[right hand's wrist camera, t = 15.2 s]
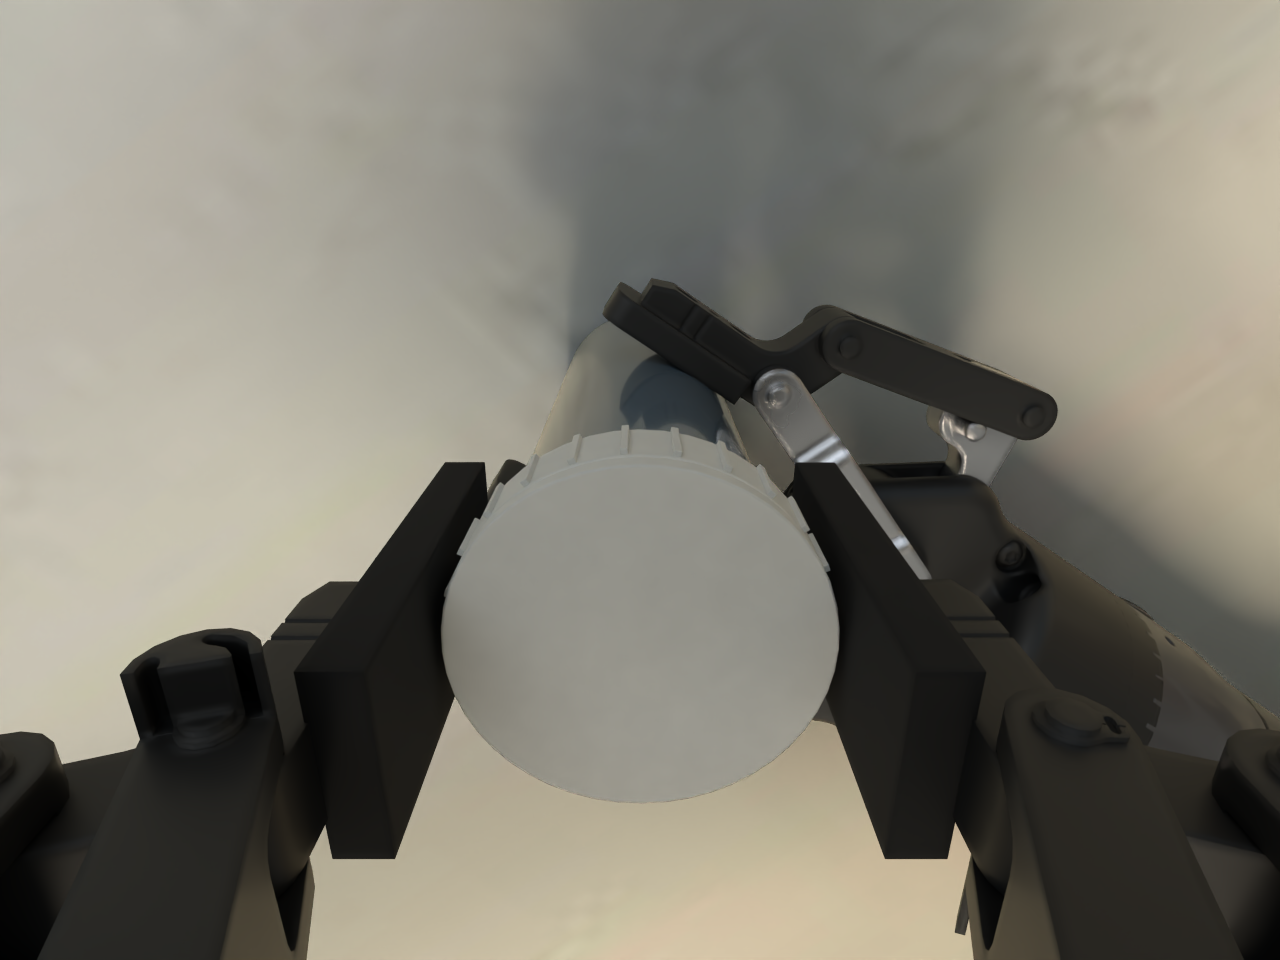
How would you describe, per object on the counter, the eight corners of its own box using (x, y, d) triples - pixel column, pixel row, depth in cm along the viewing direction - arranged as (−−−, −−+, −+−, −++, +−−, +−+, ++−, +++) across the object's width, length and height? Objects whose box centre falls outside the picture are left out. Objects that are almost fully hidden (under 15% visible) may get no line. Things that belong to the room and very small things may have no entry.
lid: (810, 397, 11) (837, 431, 9) (828, 718, 13) (853, 786, 11) (421, 449, 11) (388, 489, 10) (502, 754, 13) (484, 826, 12)
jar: (687, 471, 26) (741, 783, 12) (552, 434, 25) (448, 717, 12) (732, 337, 24) (854, 525, 10) (588, 294, 24) (517, 434, 10)
